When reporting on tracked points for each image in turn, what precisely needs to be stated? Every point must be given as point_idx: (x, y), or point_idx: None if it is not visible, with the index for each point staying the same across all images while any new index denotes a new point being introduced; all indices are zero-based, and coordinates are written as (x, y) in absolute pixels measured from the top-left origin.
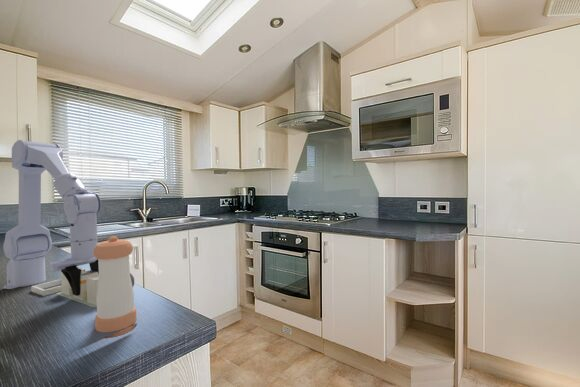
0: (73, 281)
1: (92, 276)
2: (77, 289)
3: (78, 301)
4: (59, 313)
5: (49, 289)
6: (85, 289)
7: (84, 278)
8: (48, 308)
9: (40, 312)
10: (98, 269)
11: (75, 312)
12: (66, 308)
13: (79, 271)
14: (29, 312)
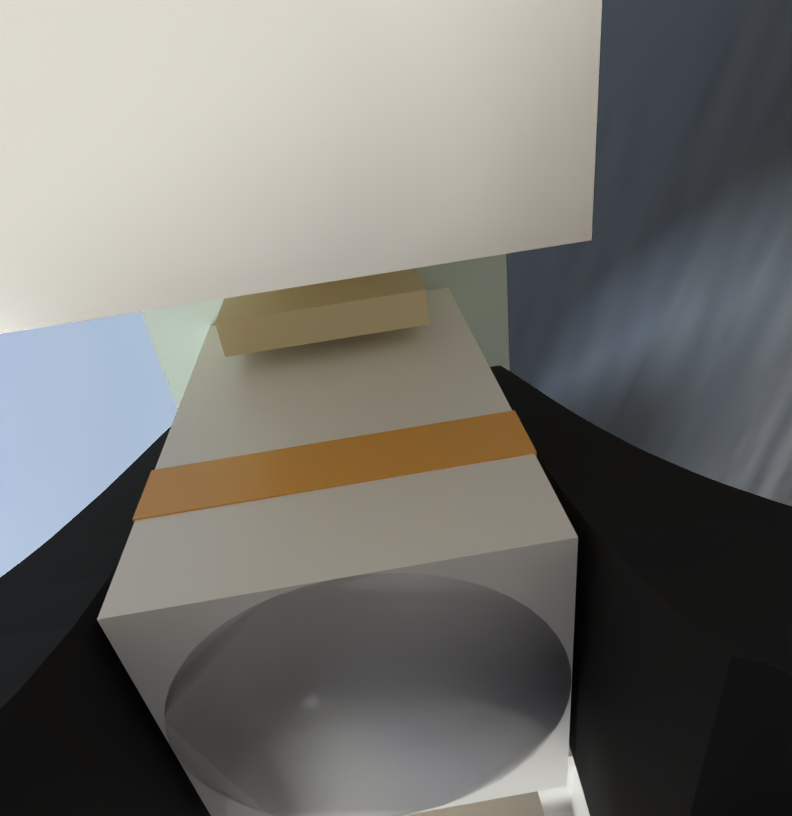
0: (689, 479)
1: (384, 204)
2: (535, 393)
3: (501, 262)
4: (709, 183)
5: (570, 752)
6: (416, 357)
7: (471, 489)
8: (668, 449)
9: (758, 396)
10: (51, 697)
11: (609, 12)
12: (588, 296)
13: (757, 625)
14: (789, 473)
